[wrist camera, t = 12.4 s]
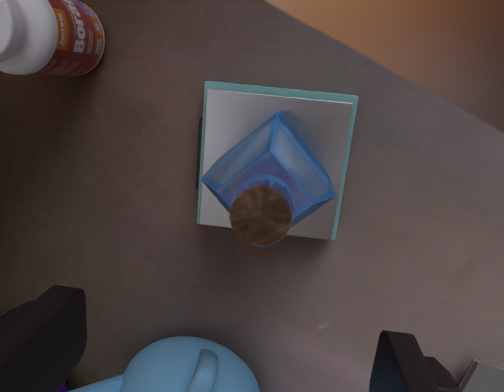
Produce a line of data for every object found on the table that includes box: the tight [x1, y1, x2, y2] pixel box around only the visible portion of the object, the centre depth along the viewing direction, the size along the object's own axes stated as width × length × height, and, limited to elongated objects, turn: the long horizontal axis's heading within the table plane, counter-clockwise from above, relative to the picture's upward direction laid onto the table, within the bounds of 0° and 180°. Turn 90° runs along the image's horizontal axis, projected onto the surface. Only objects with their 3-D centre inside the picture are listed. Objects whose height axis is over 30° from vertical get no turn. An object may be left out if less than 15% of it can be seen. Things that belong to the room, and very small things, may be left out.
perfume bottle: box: [201, 111, 336, 250], centre depth 26 cm, size 6×6×12 cm
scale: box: [196, 81, 358, 240], centre depth 34 cm, size 12×12×3 cm
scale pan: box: [199, 89, 353, 240], centre depth 32 cm, size 11×11×1 cm
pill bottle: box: [0, 0, 105, 76], centre depth 29 cm, size 6×6×11 cm
